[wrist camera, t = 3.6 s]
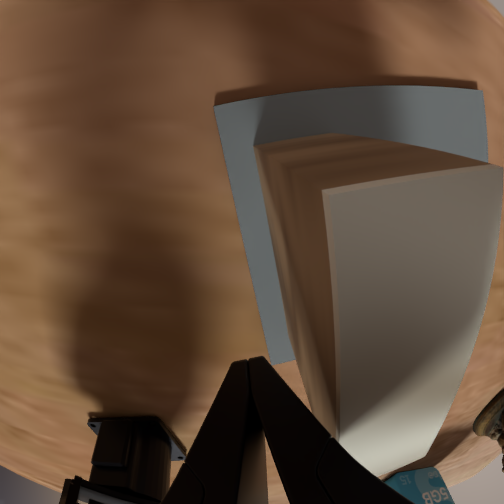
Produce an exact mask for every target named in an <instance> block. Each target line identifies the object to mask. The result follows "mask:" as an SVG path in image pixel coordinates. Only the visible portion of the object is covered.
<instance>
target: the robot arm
mask: <svg viewBox="0 0 504 504" xmlns="http://www.w3.org/2000/svg"><path fill="white" fill-rule="evenodd" d="M87 424H88V426H89V427H90V428H91V429H92V430H93V431H94V432H95V434H96V435H97V440H96V444H95V448H94V452H93V456H92V460H91V463H92V464H93V465H92V469H91V474H90V478H89V481H86V480H84V479H82V477H79V476H76V475H75V478H74V479H65V482H64V486H63V491H62V495H61V498H60V502H59V504H79V503H78V500H80V501H83V502H86V503H88V504H268V488H267V469H266V450H265V437H266V439H267V442H268V445H269V448H270V451H271V454H272V457H273V459H274V462H275V465H276V468H277V470H278V473H279V476H280V479H281V481H282V484H283V487H284V489H285V492H286V495H287V497H288V500H289V503H290V504H415V503H413V502H412V501H410V500H409V499H407V498H406V497H404V496H403V495H401V494H400V493H398V492H397V491H396V490H394V489H393V488H391V487H390V486H389V485H387V484H386V483H384V482H383V481H382V480H380V479H379V478H378V477H376V476H375V475H374V474H372V473H371V472H370V471H369V470H367V469H366V468H365V467H364V466H362V465H361V464H360V463H359V462H358V461H357V460H355V459H354V458H353V457H352V456H351V455H350V454H349V453H348V452H347V451H346V450H345V449H344V448H343V447H342V446H341V445H340V443H339V442H338V441H337V440H336V439H335V438H334V437H332V435H331V434H330V433H329V432H328V431H327V429H326V428H325V427H324V426H323V425H322V424H321V423H320V422H319V421H318V419H317V418H316V417H315V416H314V415H313V414H312V413H311V412H310V410H309V409H308V408H307V407H306V406H305V405H304V404H303V402H302V401H301V400H300V399H299V398H298V397H297V395H296V394H295V393H294V392H293V391H292V390H291V388H290V387H289V386H288V385H287V384H286V383H285V381H284V380H283V379H282V378H281V377H280V375H279V374H278V373H277V372H276V371H275V369H274V368H273V367H272V366H271V365H270V363H269V362H268V361H267V360H266V359H265V357H263V356H258V357H254V358H250V359H249V360H246V359H244V360H239V361H234V362H233V363H232V364H231V366H230V368H229V370H228V372H227V374H226V376H225V379H224V381H223V383H222V385H221V387H220V389H219V391H218V393H217V395H216V397H215V400H214V402H213V404H212V406H211V408H210V410H209V412H208V414H207V416H206V418H205V420H204V422H203V424H202V426H201V428H200V430H199V432H198V434H197V436H196V438H195V440H194V442H193V444H192V446H191V448H190V450H189V452H188V454H187V455H186V453H185V452H184V450H183V449H182V448H181V447H180V445H179V444H178V443H177V441H176V440H175V439H174V437H173V436H172V435H171V433H170V432H169V431H168V429H167V428H166V427H165V425H164V424H163V423H162V421H161V420H160V419H159V418H157V417H154V416H149V417H132V418H90V419H88V423H87ZM264 434H265V435H264ZM179 460H184V462H185V463H183V464H182V466H181V468H180V470H179V472H178V474H177V476H176V478H175V480H174V481H173V483H172V485H171V487H170V469H171V461H179ZM169 487H170V488H169Z"/></svg>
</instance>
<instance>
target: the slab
mask: <svg viewBox="0 0 504 504" xmlns="http://www.w3.org/2000/svg"><path fill="white" fill-rule="evenodd" d="M253 149H254V153H255V158H256V163H257V168H258V174H259V179H260V184H261V189H262V194H263V199H264V204H265V209H266V215H267V220H268V225H269V231H270V236H271V241H272V247H273V252H274V258H275V263H276V269H277V274H278V280H279V285H280V291H281V296H282V302H283V308H284V314H285V319H286V325H287V331H288V336H289V339H290V343H291V346H292V349H293V352H294V355H295V359H296V362H297V365H298V368H299V371H300V375H301V378H302V381H303V384H304V387H305V391H306V394H307V397H308V400H309V403H310V407H311V410H312V413H313V415H314V416H315V417H316V418H317V419H318V421H319V422H320V423H321V424H322V425H323V426H324V427H325V428H326V429H327V431H328V432H329V433H330V434H331V435H332V437H334V438H335V439H336V440H337V441H338V442H339V443H340V445H341V446H342V447H343V448H344V449H345V450H346V451H347V452H348V453H349V454H350V455H351V456H352V457H353V458H354V459H355V460H357V461H358V462H359V463H360V464H361V465H362V466H364V467H365V468H366V469H367V470H369V471H370V472H371V473H372V474H374V475H375V476H376V477H378V476H380V475H383V474H386V473H388V472H391V471H393V470H396V469H398V468H400V467H403V466H405V465H407V464H410V463H412V462H414V461H416V460H418V459H421V458H423V457H425V455H426V454H427V452H428V450H429V448H430V447H431V445H432V443H433V441H434V439H435V437H436V436H437V434H438V432H439V430H440V428H441V426H442V424H443V422H444V420H445V418H446V416H447V413H448V411H449V409H450V407H451V405H452V402H453V400H454V398H455V396H456V393H457V391H458V389H459V386H460V384H461V381H462V379H463V376H464V373H465V371H466V368H467V365H468V363H469V360H470V357H471V354H472V351H473V348H474V345H475V342H476V339H477V336H478V332H479V329H480V326H481V322H482V318H483V315H484V311H485V307H486V303H487V299H488V295H489V290H490V285H491V281H492V276H493V270H494V265H495V259H496V253H497V246H498V239H499V231H500V221H501V210H502V195H503V167H500V166H497V165H493V164H490V163H487V162H483V161H479V160H476V159H472V158H468V157H464V156H460V155H456V154H452V153H448V152H444V151H439V150H435V149H430V148H426V147H421V146H416V145H411V144H405V143H400V142H394V141H388V140H382V139H375V138H369V137H362V136H354V135H346V134H338V133H327V134H320V135H313V136H307V137H300V138H294V139H288V140H282V141H276V142H271V143H265V144H260V145H255V146H253Z"/></svg>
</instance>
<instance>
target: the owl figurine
mask: <svg viewBox="0 0 504 504" xmlns="http://www.w3.org/2000/svg"><path fill="white" fill-rule="evenodd" d="M473 431H474V432H475V434H476V435H478V436H488V437H490V438H491V439H492V440H497V441H498V443H499V445H500V447H501V448H502V453H503V454H504V389H503V390H502V391H501V392H500V393H499V394H498V395H497V396H496V397H495V398H494V399H493V400H492V401H491V402H490V403H489V404H488V405H487V406H486V407H485V408H484V409H483V410H482V412H481V413H480V414H479V415H478V416H477V418H476V420H475V421H474V424H473ZM502 464H503V468H502V472H504V455H503V459H502Z"/></svg>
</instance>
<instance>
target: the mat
mask: <svg viewBox="0 0 504 504" xmlns="http://www.w3.org/2000/svg"><path fill="white" fill-rule="evenodd" d="M213 107H214V112H215V116H216V121H217V125H218V130H219V135H220V139H221V144H222V148H223V153H224V157H225V162H226V166H227V171H228V175H229V180H230V184H231V189H232V193H233V198H234V202H235V207H236V211H237V216H238V220H239V225H240V229H241V234H242V238H243V243H244V247H245V251H246V256H247V260H248V265H249V269H250V274H251V278H252V282H253V287H254V291H255V296H256V300H257V304H258V309H259V313H260V317H261V322H262V326H263V330H264V335H265V339H266V344H267V348H268V352H269V357H270V361H271V365H275V364H280V363H284V362H288V361H292V360H296V359H295V355H294V352H293V349H292V346H291V343H290V339H289V336H288V331H287V325H286V319H285V314H284V308H283V302H282V296H281V291H280V285H279V280H278V274H277V269H276V263H275V258H274V252H273V247H272V241H271V236H270V231H269V225H268V220H267V215H266V209H265V204H264V199H263V194H262V189H261V184H260V179H259V174H258V168H257V163H256V158H255V153H254V149H253V146H255V145H260V144H265V143H271V142H276V141H282V140H288V139H294V138H300V137H307V136H313V135H320V134H327V133H338V134H346V135H354V136H362V137H369V138H375V139H382V140H388V141H394V142H400V143H405V144H411V145H416V146H421V147H426V148H430V149H435V150H439V151H444V152H448V153H452V154H456V155H460V156H464V157H468V158H472V159H476V160H479V161H483V162H487V163H488V143H487V127H486V115H485V106H484V98H483V91H481V90H473V89H463V88H451V87H435V86H358V87H341V88H328V89H318V90H308V91H299V92H292V93H284V94H277V95H271V96H264V97H258V98H252V99H247V100H242V101H236V102H231V103H226V104H222V105H217V106H213Z"/></svg>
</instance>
